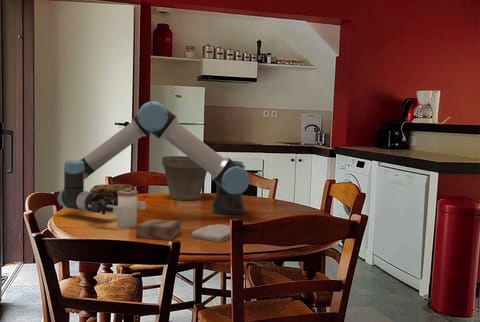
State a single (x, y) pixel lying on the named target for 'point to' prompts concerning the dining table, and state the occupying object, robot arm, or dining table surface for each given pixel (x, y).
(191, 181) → the plant pot
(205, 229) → the washcloth
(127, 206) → the canister
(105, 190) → the bread
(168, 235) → the base block
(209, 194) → the dining table surface
